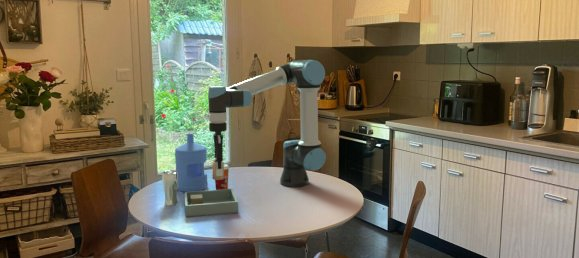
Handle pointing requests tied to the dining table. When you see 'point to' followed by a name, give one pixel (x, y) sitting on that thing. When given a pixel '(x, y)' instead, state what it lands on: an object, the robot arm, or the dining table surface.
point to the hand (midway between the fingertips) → (218, 173)
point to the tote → (212, 203)
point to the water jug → (191, 166)
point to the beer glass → (170, 187)
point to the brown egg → (215, 172)
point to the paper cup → (224, 182)
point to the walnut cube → (196, 199)
